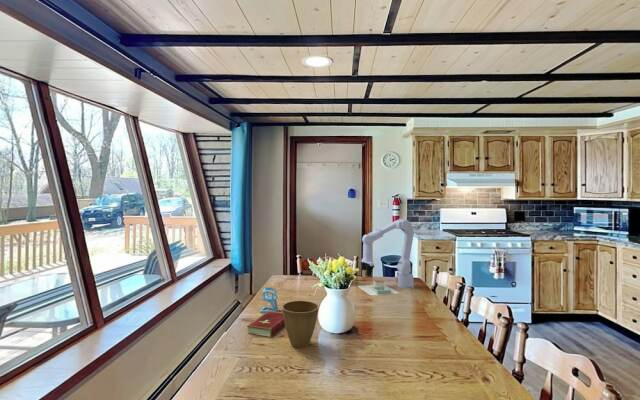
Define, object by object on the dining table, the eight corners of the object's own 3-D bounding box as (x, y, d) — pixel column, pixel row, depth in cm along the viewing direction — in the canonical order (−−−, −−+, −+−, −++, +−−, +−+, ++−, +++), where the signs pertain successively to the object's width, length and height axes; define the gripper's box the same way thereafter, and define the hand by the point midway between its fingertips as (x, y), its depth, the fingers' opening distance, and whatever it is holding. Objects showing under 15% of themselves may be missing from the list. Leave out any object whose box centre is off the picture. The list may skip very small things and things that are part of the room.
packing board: (383, 285, 251) (384, 280, 251) (399, 294, 230) (399, 289, 230) (356, 287, 246) (357, 282, 246) (370, 296, 225) (370, 291, 225)
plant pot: (274, 346, 155) (274, 307, 154) (296, 334, 167) (297, 298, 167) (304, 355, 147) (304, 314, 146) (325, 342, 159) (325, 304, 158)
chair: (275, 314, 194) (275, 290, 193) (259, 312, 196) (259, 289, 195) (279, 309, 201) (280, 286, 201) (264, 307, 203) (265, 285, 203)
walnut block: (369, 275, 245) (369, 269, 245) (372, 277, 240) (372, 271, 240) (362, 276, 244) (362, 269, 244) (365, 277, 239) (365, 271, 239)
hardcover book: (290, 321, 184) (290, 313, 184) (271, 338, 164) (271, 328, 164) (268, 318, 188) (268, 310, 188) (246, 334, 168) (246, 324, 168)
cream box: (380, 285, 248) (380, 279, 248) (384, 287, 243) (384, 281, 243) (373, 285, 246) (373, 279, 246) (376, 287, 241) (376, 281, 241)
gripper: (357, 252, 247) (357, 272, 248) (366, 256, 234) (365, 278, 234) (367, 251, 249) (367, 272, 250) (376, 255, 235) (376, 277, 236)
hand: (367, 274), depth 242 cm, fingers closed on walnut block, 5 cm apart
